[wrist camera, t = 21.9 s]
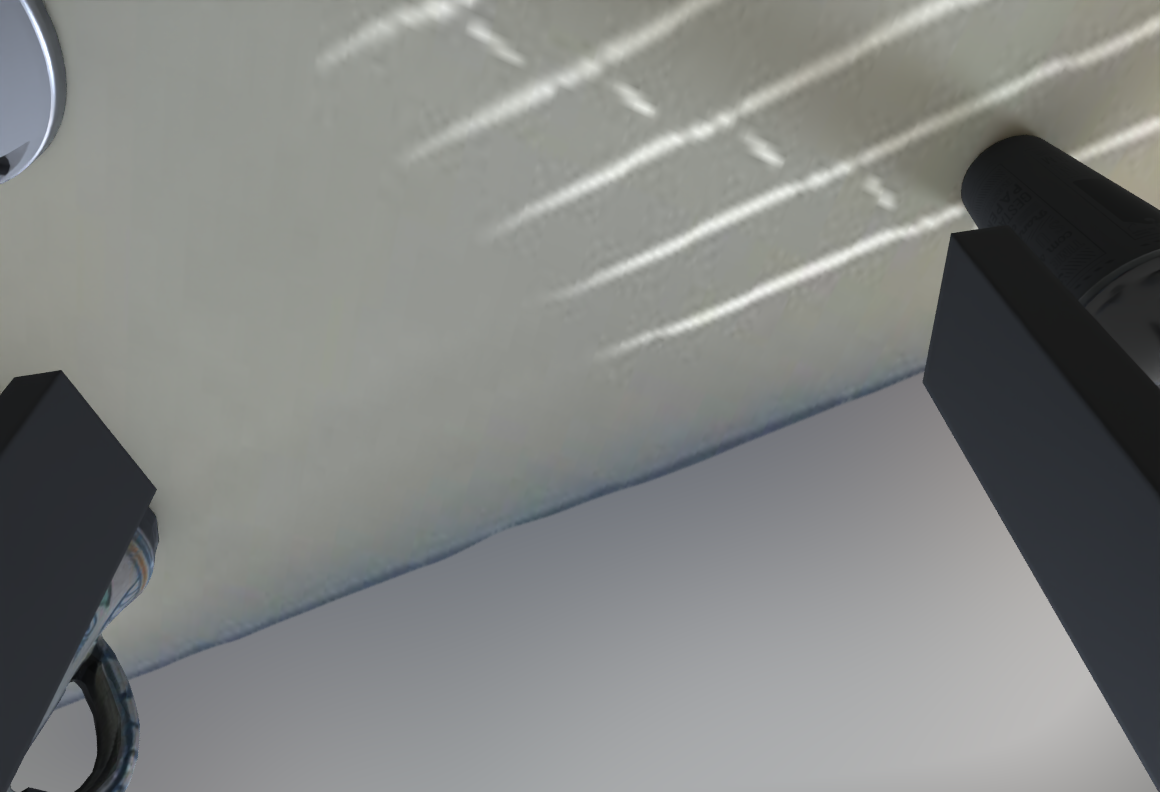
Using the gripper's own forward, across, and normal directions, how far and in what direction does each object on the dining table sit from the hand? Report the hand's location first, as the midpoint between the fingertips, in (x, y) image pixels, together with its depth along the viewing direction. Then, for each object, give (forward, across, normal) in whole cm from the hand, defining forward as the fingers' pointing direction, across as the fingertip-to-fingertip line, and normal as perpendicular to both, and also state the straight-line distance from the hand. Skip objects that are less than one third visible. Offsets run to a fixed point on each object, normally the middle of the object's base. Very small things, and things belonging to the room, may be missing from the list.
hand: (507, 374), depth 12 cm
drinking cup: (+29, +23, -15) cm, 40 cm away
